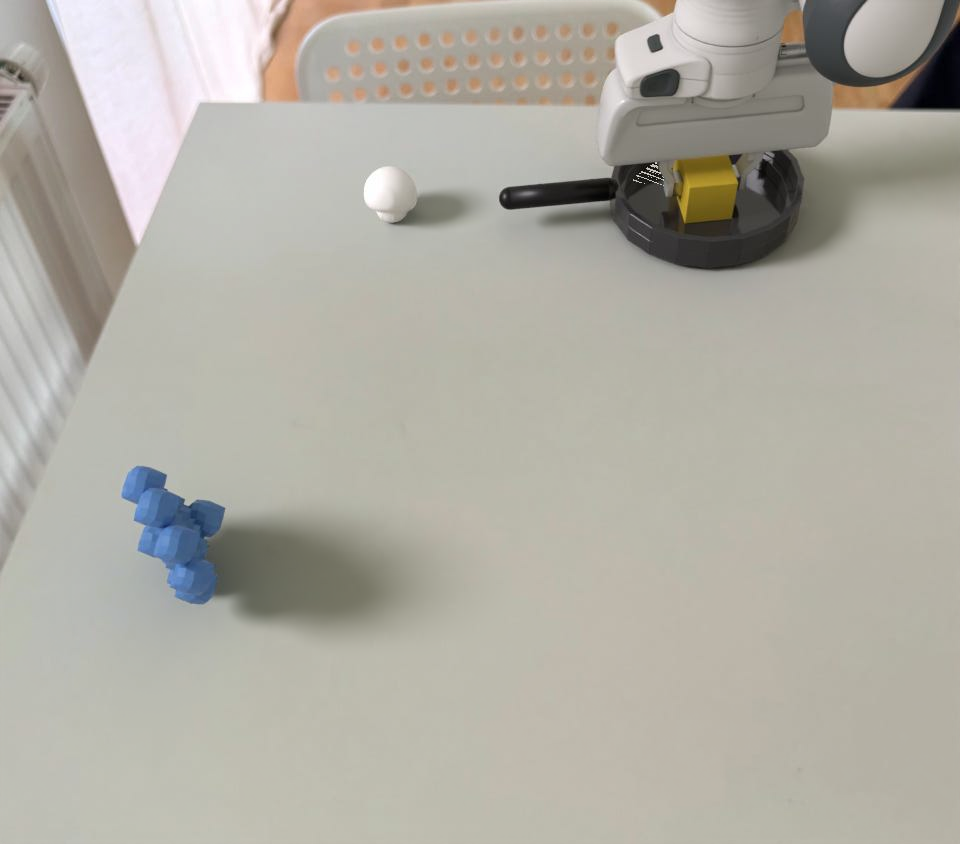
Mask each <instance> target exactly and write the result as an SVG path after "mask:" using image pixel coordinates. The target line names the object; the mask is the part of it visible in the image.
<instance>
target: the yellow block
mask: <svg viewBox="0 0 960 844" xmlns="http://www.w3.org/2000/svg"><path fill="white" fill-rule="evenodd" d="M673 170H680V172H681V175H682V178H683V181H684V184H683V189H682V191H683V192H682V196H677V199H678V203H679V206H680V209H681V213H682V216H683V219H684V223H685V224H686V223H696V222H706V221H716V220H726V219H732V215H733V209H734V203H735V198H736V192H737V187H738V181H737V178H736V175H735V173H734V170H733V167H732V164H731V161H730V158H729V156H728V155H726V156H715V157H705V158H694V159H684V160H675V165H674V168H673Z"/></svg>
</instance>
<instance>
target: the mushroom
mask: <svg viewBox="0 0 960 844" xmlns="http://www.w3.org/2000/svg"><path fill="white" fill-rule="evenodd" d="M363 199H364V203H365V205H366V206H367V207H369V209H370V210H373V211H375V212H376V214H377V216H378V218H379V219H380V220H382V221H383V222H385V223H391V224H394V223H398V222H401V221H403V220H404V219H405V218H406V217H407V214H408V213H409V212H410V211H412V210H413V209H414V208H415V207H416V205H417V202H418V190H417V186H416V183H415V182H414V179H413V178H412V176H411V175H410V174H409V173H407V171H405V169H401V168H400V167H397V166H392V165H387V166H382V167H379V168H378V169H375V170H374V171H373V172H371V174H370V175H369V176H368V178H367V179H366V180H365V183H364V187H363Z"/></svg>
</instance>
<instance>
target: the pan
mask: <svg viewBox="0 0 960 844" xmlns="http://www.w3.org/2000/svg"><path fill="white" fill-rule="evenodd" d="M728 156H729V158H730V161H731V164H732V165H735V164H736V163H737V161H738V160H739V159H740V157H741V156H742V154H736V155H728ZM652 164H654V165H657V164H655V162H652V163H642V164H631V165H621V166H613V168H612V173H611V177H610V178H612V179H614V180H616V182H617V183H618V186H619V188H618V190H617V191H615V197H614V199H612V200H609V206H610V210H611V214H612V218H613V219H612V220H613V222H614V224H615V225H616V227H617V228H618V229H619V231H620V232H621V234H623V236H624V237H625V238H626V239H627V241H629V242H630V243H631V244H633V245H635V246H636V247H637V248H639V249H641V250H642V251H643V252H644V253H646V254H647V255H650V256H652V257H655V258H657V259H661V260H664V261H666V262H669V263H673V264H675V265H679V266H689V267H696V268H704V269H707V268H708V269H711V268H721V267H732V266H739V265H743V264H745V263H748V262H750V261H751V262H752V261H754V260H757V259H759V258H762V257H763V258H764V257H765V256H767V254H769V253H771V252H772V251H774V250H775V249H776V248H778V247H779V246H781V245H782V244H783V243H784V242H785V241H786V240H787V239H788V237H789V235H790V234H791V232H792V231H793V229H794V228H795V226H796V224H797V222H798V217H799V213H800V208H801V205H802V201H803V197H804V196H803V195H804V186H805V175H804V174H803V171H802V169H801V166H800V164H799V161H798V159H797V158H796V156H794V155H793V154H792V152H791V151H790V150H779V151H768V152H764V153H763V158H762V161H761V162H760V163H759V164H758V165H757V166H756V167H755V169H754V170H753V171H752V172H751V173H750V174H749V175H748V176H747V177H746V182H745V188H744V190H738V191H737V192H736V198H735V203H734V209H733V215H732V219H726V220H716V221H706V222H696V223H686V224H685V223H684V219H683V216H682V213H681V209H680V206H679V203H678V199H677V196H676V197H666V195H665V191H664V186H663V185H664V181H663V180H661V179H664V178H663V177H662V176H663V175H662V174H659V173H656V172H654V173H652V172H653V171H651V172H649V171H650V170H647V169H646V168H647V167H648V168H650V169H653V170H656V171H658V172H660V171H659V168H658V169H657V168H656V167H655V168H654V167H651V166H650V165H652ZM657 166H658V165H657ZM671 169H672V170H673V168H671ZM641 171H643V172H646V173H649V174H651V175H654V176H656V177H659V178H661V179H658V178H656V177H653V176H650V175H647V174H644V173H641ZM639 173H641V174H639ZM655 173H656V174H655ZM658 174H659V175H658ZM636 175H639V176H641V177H644V178H647V179H649V180H652V181H654V182H657V183H659V184H657V183H654V182H652V181H649V180H647V179H644V178H641V177H637V176H636ZM648 176H649V177H648ZM651 177H652V178H651ZM638 178H639V179H638ZM633 179H634V180H637V181H639V182H642V183H639V182H636V181H633ZM656 179H657V180H656ZM644 183H645V184H644ZM660 184H662V185H660Z"/></svg>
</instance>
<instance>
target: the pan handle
mask: <svg viewBox="0 0 960 844" xmlns="http://www.w3.org/2000/svg"><path fill="white" fill-rule="evenodd" d="M618 188H619V186H618V183H617V182H616V180H614V179H612V178H611V177H599V178H589V179H577V180H567V181H558V182H556V181H555V182H545V183H534V184H525V185H513V186H507V187H505V188H503V189H502V190H501V191H500V192H499V196H498V202H499V204H500V206H501V207H502V208H503V209H505V210H508V211H511V210H514V211H515V210H522V209H532V208H533V209H534V208H545V207H554V206H557V207H558V206H567V205H578V204H587V203H597V202H598V203H599V202H610V200H612V199H614V197H615V191H617V190H618Z"/></svg>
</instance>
